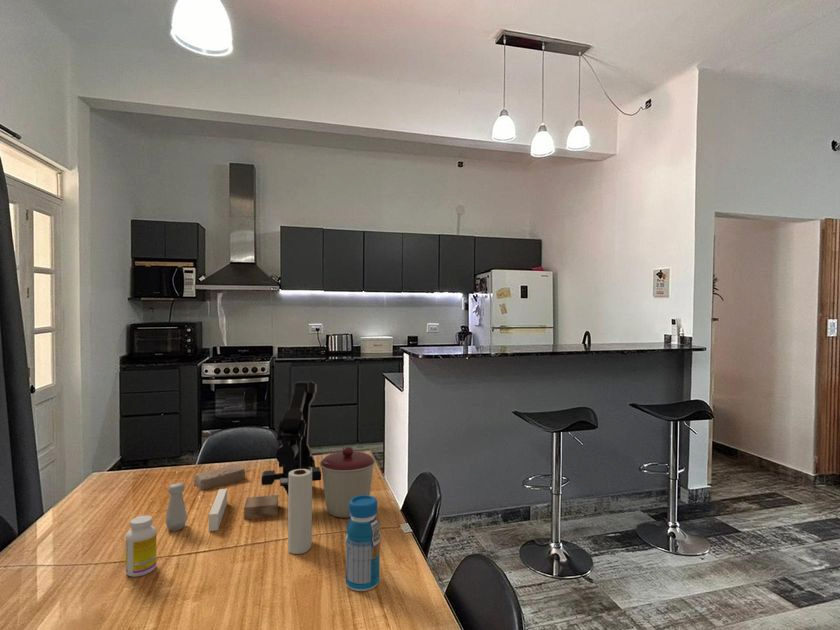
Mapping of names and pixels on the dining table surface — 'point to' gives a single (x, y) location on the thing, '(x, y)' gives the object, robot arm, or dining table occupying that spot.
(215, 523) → the plank
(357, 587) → the beverage bottle
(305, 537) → the paper towel roll
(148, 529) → the supplement bottle
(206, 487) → the brick
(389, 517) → the dining table surface
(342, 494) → the canister
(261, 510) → the walnut block
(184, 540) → the dining table surface
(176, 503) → the salt shaker
